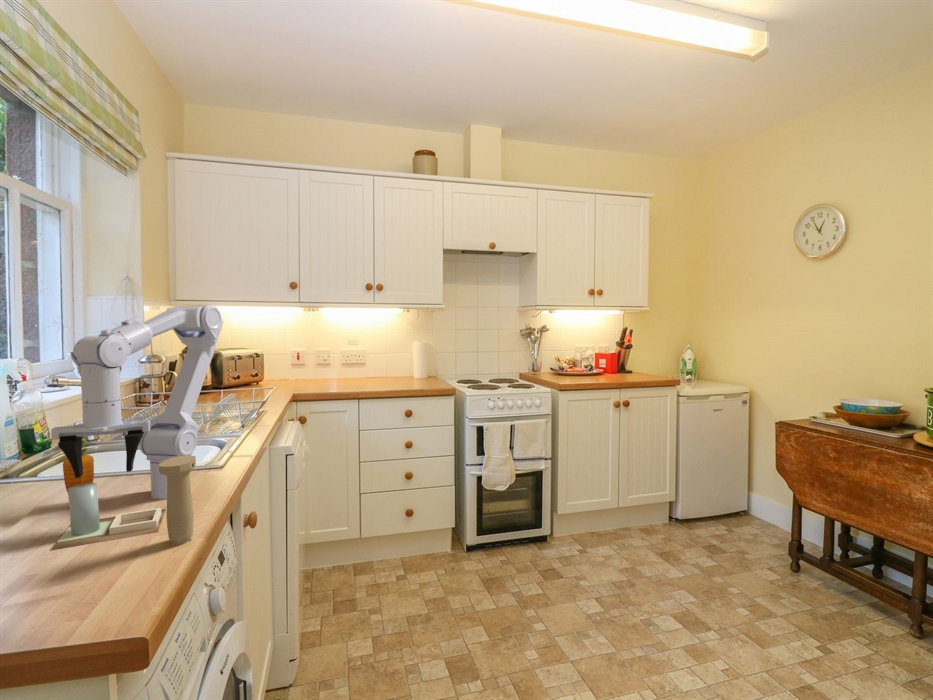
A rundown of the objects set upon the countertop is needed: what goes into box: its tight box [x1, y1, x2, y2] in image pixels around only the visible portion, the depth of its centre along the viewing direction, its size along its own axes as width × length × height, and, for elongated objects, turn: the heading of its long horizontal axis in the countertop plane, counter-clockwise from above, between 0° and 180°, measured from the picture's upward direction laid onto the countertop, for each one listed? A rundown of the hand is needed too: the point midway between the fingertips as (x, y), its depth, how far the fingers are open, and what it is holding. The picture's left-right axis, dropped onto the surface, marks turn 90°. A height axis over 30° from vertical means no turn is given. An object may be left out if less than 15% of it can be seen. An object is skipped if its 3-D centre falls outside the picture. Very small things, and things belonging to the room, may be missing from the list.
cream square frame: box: [109, 507, 162, 535], centre depth 89 cm, size 7×7×1 cm
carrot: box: [62, 438, 95, 494], centre depth 98 cm, size 5×5×15 cm
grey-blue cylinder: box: [67, 482, 100, 536], centre depth 85 cm, size 4×4×8 cm
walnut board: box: [49, 508, 167, 552], centre depth 87 cm, size 12×15×1 cm
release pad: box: [56, 521, 112, 543], centre depth 85 cm, size 6×6×1 cm
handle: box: [159, 455, 197, 546], centre depth 81 cm, size 5×6×15 cm
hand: (104, 473), depth 89 cm, fingers open, 7 cm apart
